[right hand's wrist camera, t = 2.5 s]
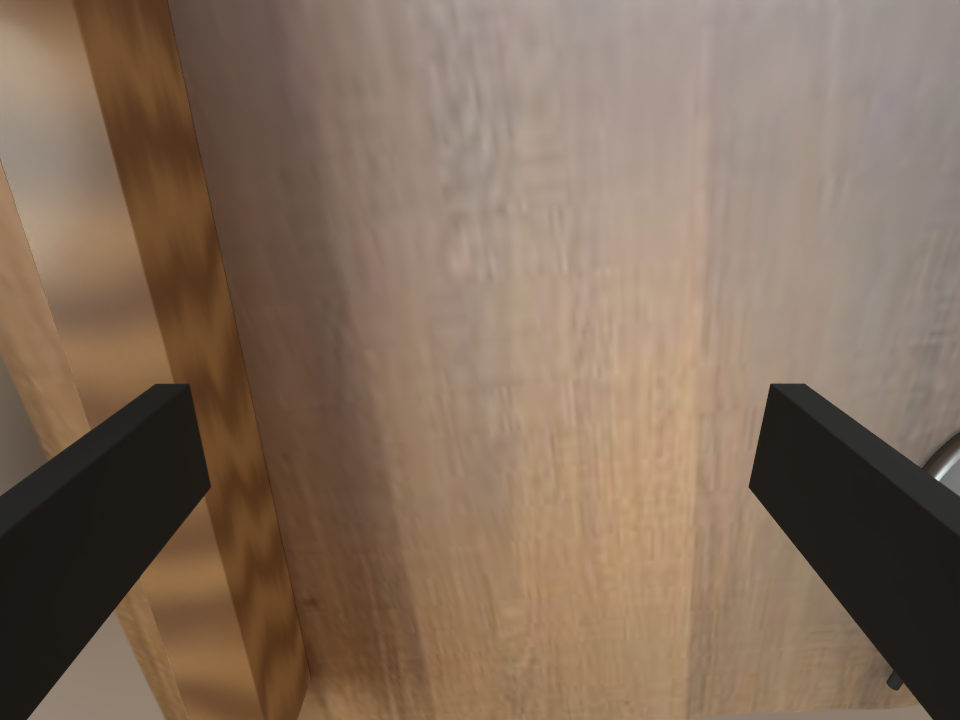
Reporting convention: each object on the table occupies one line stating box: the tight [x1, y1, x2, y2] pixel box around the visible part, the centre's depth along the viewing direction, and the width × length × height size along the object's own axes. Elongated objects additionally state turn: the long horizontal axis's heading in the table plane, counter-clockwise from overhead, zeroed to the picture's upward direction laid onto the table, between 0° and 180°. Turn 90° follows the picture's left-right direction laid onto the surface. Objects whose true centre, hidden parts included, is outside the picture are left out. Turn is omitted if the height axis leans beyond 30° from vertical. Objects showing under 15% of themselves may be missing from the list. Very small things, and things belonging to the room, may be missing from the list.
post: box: [0, 0, 311, 720], centre depth 30 cm, size 53×5×7 cm, turn 2°
